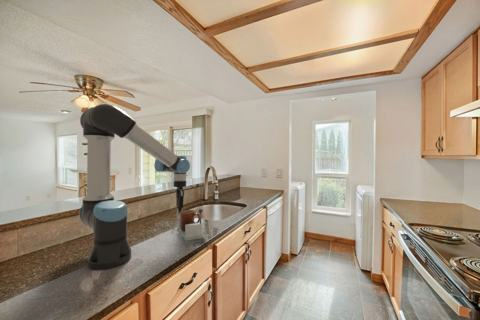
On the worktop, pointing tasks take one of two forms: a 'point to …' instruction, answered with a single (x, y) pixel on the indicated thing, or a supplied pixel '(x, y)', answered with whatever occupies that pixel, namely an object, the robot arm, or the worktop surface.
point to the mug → (188, 218)
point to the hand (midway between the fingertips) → (179, 218)
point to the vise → (192, 230)
